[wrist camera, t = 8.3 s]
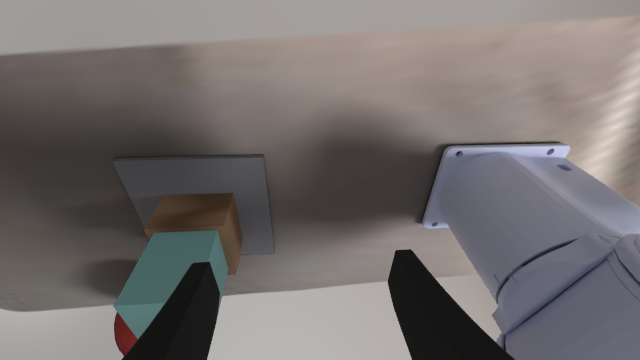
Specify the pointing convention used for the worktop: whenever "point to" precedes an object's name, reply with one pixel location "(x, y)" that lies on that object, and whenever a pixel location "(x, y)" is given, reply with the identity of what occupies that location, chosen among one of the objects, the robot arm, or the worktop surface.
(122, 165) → the mat
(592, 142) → the worktop surface
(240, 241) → the walnut block
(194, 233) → the teal block
